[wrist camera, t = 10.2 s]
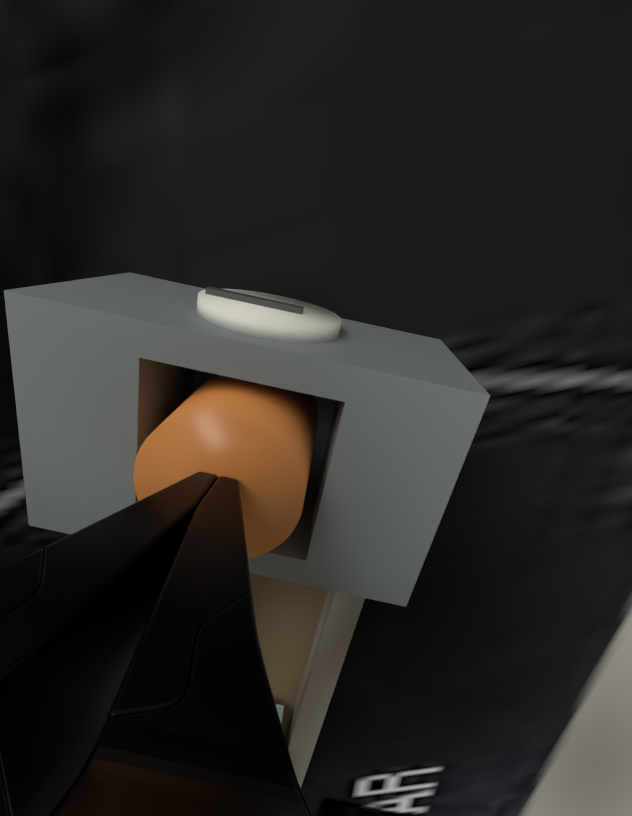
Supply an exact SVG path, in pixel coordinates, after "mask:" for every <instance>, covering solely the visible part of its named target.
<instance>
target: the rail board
mask: <svg viewBox="0 0 632 816" xmlns="http://www.w3.org/2000/svg"><path fill="white" fill-rule="evenodd" d="M250 580H251V588H252V596H253V604H254V612H255V618H256V625H257V631H258V637H259V642H260V647H261V651H262V655H263V659H264V664H265V668H266V672H267V676H268V679H269V683H270V686H271V690H272V693H273V697H274V701H275V704H279V705H284V709H283V716H282V722H281V726H282V729H283V733H284V736H285V740H286V744H287V747H288V751H289V754H290V758H291V761H292V764H293V768H294V771H295V774H296V777H297V780H298V783H299V786H300V789H301V786H302V783H303V780H304V777H305V774H306V771H307V768H308V766H309V763H310V760H311V757H312V754H313V751H314V748H315V745H316V742H317V739H318V736H319V733H320V730H321V727H322V724H323V721H324V718H325V715H326V712H327V709H328V706H329V704H330V701H331V698H332V695H333V692H334V689H335V686H336V683H337V680H338V677H339V674H340V671H341V668H342V665H343V662H344V659H345V656H346V653H347V650H348V647H349V644H350V642H351V639H352V636H353V633H354V630H355V627H356V624H357V621H358V618H359V615H360V612H361V609H362V606H363V603H364V600H365V598H363V597H358V596H354V595H349V594H344V593H340V592H335V591H330V590H326V589H321V588H317V587H312V586H307V585H303V584H298V583H293V582H289V581H284V580H280V579H275V578H270V577H266V576H261V575H256V574H252V573H250Z"/></svg>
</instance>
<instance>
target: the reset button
mask: <svg viewBox="0 0 632 816" xmlns="http://www.w3.org/2000/svg"><path fill="white" fill-rule="evenodd" d="M317 428H318V407H317V403H316V400H315V397H314V395H310V394H305V393H300V392H296V391H291V390H286V389H282V388H277V387H273V386H268V385H263V384H259V383H254V382H249V381H245V380H240V379H236V378H231V377H226V376H222V375H217V374H212V375H211V376H210V377H209V378H208V379H207V380H206V381H205V382H204V383H203V384H202V385H201V386H200V387H199V388H198V389H197V390H196V391H195V392H194V393H193V394H192V395H191V396H189V397H188V398H187V399H186V400H185V401H184V402H183V403H182V404H181V405H180V406H179V407H178V408H177V409H176V410H175V411H174V412H173V413H172V414H171V415H170V416H169V417H168V418H166V419H165V420H164V421H163V422H162V423H161V424H160V425H159V426H158V427H157V428H156V429H155V430H154V431H153V432H152V433H151V434H150V435H149V436H148V437H147V438H146V439H145V441H144V442H143V444H142V445H141V447H140V449H139V451H138V454H137V456H136V460H135V464H134V472H133V479H134V487H135V492H136V495H137V498H138V501H140V500H142V499H144V498H146V497H148V496H150V495H152V494H154V493H156V492H158V491H160V490H162V489H164V488H166V487H168V486H170V485H172V484H174V483H176V482H178V481H180V480H182V479H184V478H186V477H188V476H190V475H193V474H195V473H197V472H200V471H201V472H206V473H211V474H215V475H217V476H218V478H219V477H220V476H224V477H229V478H234V479H237V480H238V481H239V486H240V495H241V503H242V512H243V520H244V529H245V537H246V546H247V554H248V558H252V557H256V556H259V555H262V554H264V553H267V552H269V551H271V550H272V549H274V548H276V547H277V546H279V545H280V544H281V543H283V542H284V541H285V540H286V539H287V538H288V537H289V536H290V535H291V533H292V532H293V530H294V529H295V527H296V525H297V523H298V521H299V519H300V516H301V513H302V509H303V504H304V498H305V493H306V488H307V482H308V477H309V471H310V466H311V460H312V455H313V450H314V444H315V439H316V433H317Z"/></svg>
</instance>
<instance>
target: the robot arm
mask: <svg viewBox="0 0 632 816" xmlns="http://www.w3.org/2000/svg"><path fill="white" fill-rule="evenodd" d="M0 816H311V814H310V812H309V809H308V807H307V805H306V802H305V799H304V797H303V794H302V792H301V789H300V786H299V783H298V780H297V777H296V774H295V771H294V768H293V764H292V761H291V758H290V754H289V751H288V747H287V744H286V740H285V736H284V733H283V729H282V726H281V722H280V719H279V715H278V711H277V708H276V704H275V701H274V697H273V693H272V690H271V686H270V683H269V679H268V676H267V672H266V668H265V664H264V659H263V655H262V651H261V647H260V642H259V637H258V631H257V625H256V618H255V612H254V604H253V596H252V588H251V580H250V571H249V563H248V554H247V546H246V537H245V529H244V520H243V512H242V503H241V495H240V486H239V481H238V480H237V479H234V478H229V477H224V476H220V477H219V478H218V476H217V475H215V474H211V473H206V472H201V471H200V472H197V473H195V474H193V475H190V476H188V477H186V478H184V479H182V480H180V481H178V482H176V483H174V484H172V485H170V486H168V487H166V488H164V489H162V490H160V491H158V492H156V493H154V494H152V495H150V496H148V497H146V498H144V499H142V500H140V501H138V502H136V503H134V504H132V505H130V506H128V507H126V508H124V509H121V510H119V511H117V512H115V513H113V514H111V515H109V516H107V517H105V518H103V519H101V520H99V521H97V522H95V523H93V524H91V525H89V526H87V527H85V528H83V529H81V530H79V531H77V532H75V533H73V534H71V535H69V536H67V537H65V538H63V539H61V540H59V541H57V542H55V543H52V544H50V545H48V546H46V547H45V551H44V550H43V549H40V550H38V551H36V552H34V553H32V554H30V555H28V556H26V557H24V558H22V559H20V560H18V561H15V562H13V563H11V564H9V565H7V566H5V567H3V568H1V569H0ZM317 816H391V815H387V814H382V813H378V812H373V811H368V810H364V809H359V808H354V807H350V806H345V805H341V804H336V803H331V802H326V803H323V804H322V805H321V807H320V810H319V812H318V815H317Z"/></svg>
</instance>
